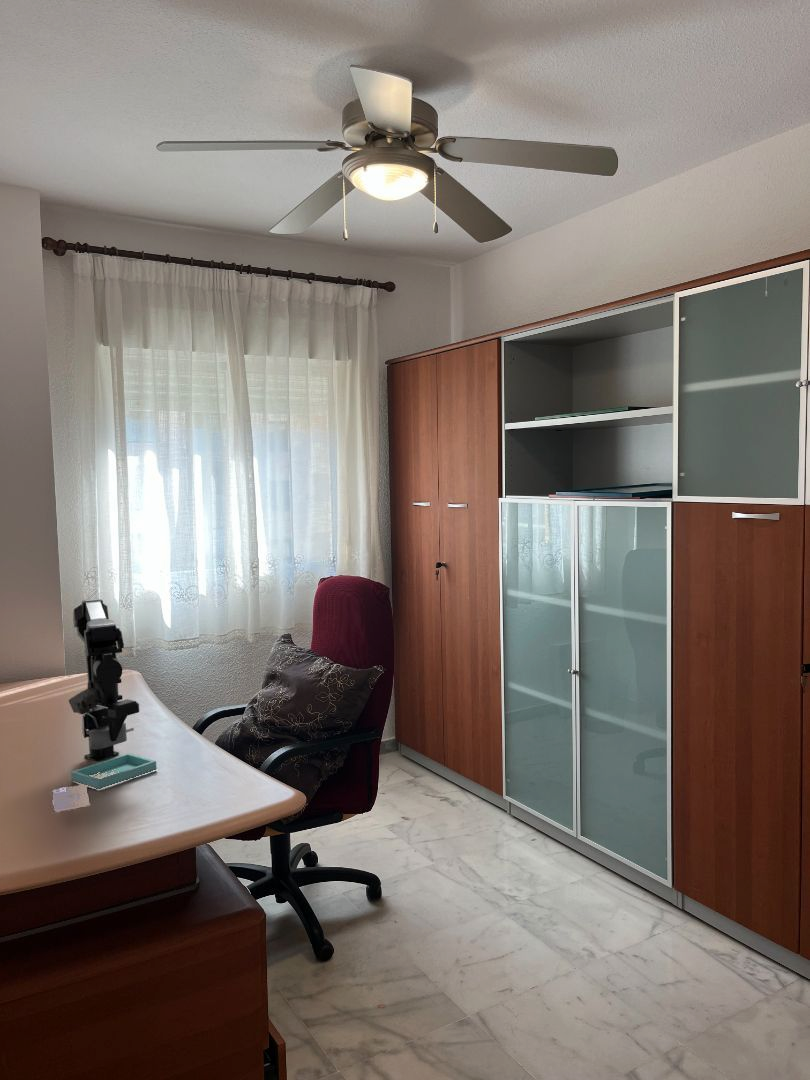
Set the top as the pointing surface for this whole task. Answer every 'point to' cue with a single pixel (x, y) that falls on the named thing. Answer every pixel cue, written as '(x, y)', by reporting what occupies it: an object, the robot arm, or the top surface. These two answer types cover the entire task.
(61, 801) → the mobile phone
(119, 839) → the top surface
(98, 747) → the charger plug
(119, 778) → the desk tray
